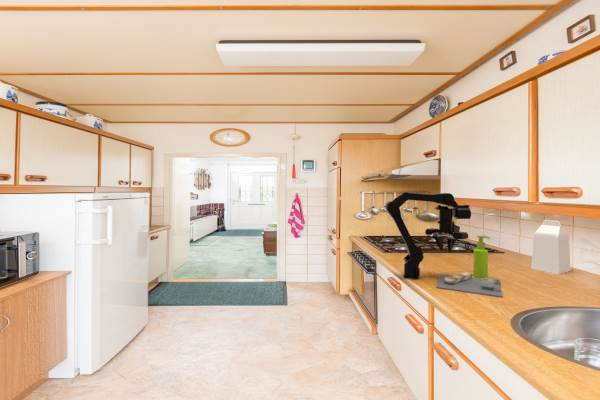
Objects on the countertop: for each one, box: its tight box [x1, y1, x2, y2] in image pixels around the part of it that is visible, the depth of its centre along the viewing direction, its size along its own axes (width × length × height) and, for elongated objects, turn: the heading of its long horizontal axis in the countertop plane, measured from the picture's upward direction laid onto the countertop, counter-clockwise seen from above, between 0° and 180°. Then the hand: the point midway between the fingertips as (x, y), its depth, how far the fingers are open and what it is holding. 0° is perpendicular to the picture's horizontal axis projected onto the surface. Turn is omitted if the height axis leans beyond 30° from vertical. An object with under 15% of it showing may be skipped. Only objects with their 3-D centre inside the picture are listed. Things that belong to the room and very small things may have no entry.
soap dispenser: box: [473, 235, 491, 279], centre depth 141 cm, size 6×7×20 cm
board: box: [435, 273, 504, 298], centre depth 130 cm, size 24×22×1 cm
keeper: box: [480, 277, 502, 292], centre depth 123 cm, size 7×5×4 cm
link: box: [445, 271, 473, 284], centre depth 134 cm, size 17×4×3 cm, turn 120°
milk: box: [530, 219, 571, 275], centre depth 151 cm, size 12×12×26 cm
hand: (445, 251), depth 139 cm, fingers open, 4 cm apart
